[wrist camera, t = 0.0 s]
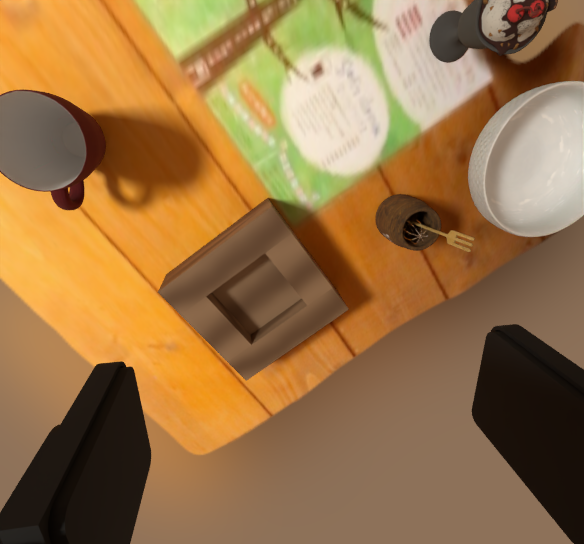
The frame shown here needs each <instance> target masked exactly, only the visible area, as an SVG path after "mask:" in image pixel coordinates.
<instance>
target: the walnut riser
mask: <svg viewBox="0 0 584 544" xmlns="http://www.w3.org/2000/svg"><path fill="white" fill-rule="evenodd" d="M158 293H159V294H160V295H161V296H162V297H163V298H164V299H165V300H166V301H167V302H168V303H169V304H170V305H171V306H172V307H173V308H174V309H175V310H176V311H177V312H178V313H179V314H180V315H181V316H182V317H183V318H184V319H185V320H186V321H187V322H188V323H189V324H190V325H191V326H192V327H193V328H194V329H195V330H196V331H197V332H198V333H199V334H200V335H201V336H202V337H203V338H204V339H205V340H206V341H207V342H208V343H209V344H210V345H211V346H212V347H213V348H214V349H215V350H216V351H217V352H218V353H219V354H220V355H221V356H222V357H223V358H224V359H225V360H226V361H227V362H228V363H229V364H230V365H231V366H232V367H233V368H234V369H235V370H236V371H237V372H238V373H239V374H240V375H241V376H242V377H243V378H244V379H245V380H246V381H247V380H248V379H249V378H251V377H252V376H254V375H255V374H257V373H258V372H260V371H261V370H262V369H264V368H265V367H267V366H268V365H270V364H271V363H272V362H274V361H275V360H277V359H278V358H280V357H281V356H283V355H284V354H285V353H287V352H288V351H290V350H291V349H293V348H294V347H295V346H297V345H298V344H300V343H301V342H303V341H304V340H306V339H307V338H308V337H310V336H311V335H313V334H314V333H316V332H317V331H318V330H320V329H321V328H323V327H324V326H326V325H327V324H329V323H330V322H331V321H333V320H334V319H336V318H337V317H339V316H340V315H341V314H343V313H344V312H346V311H347V310H349V309H348V307H347V306H346V304H345V302H344V301H343V299H342V298H341V296H340V294H339V293H338V291H337V290H336V288H335V287H334V286H333V284H332V283H331V282H330V280H329V279H328V278H327V276H326V275H325V274H324V272H323V271H322V270H321V268H320V267H319V266H318V264H317V263H316V262H315V260H314V259H313V258H312V256H311V255H310V254H309V252H308V251H307V250H306V248H305V247H304V246H303V244H302V243H301V242H300V240H299V239H298V238H297V236H296V235H295V233H294V232H293V231H292V229H291V228H290V227H289V225H288V224H287V223H286V221H285V220H284V219H283V217H282V216H281V215H280V213H279V212H278V211H277V209H276V208H275V207H274V205H273V204H272V203H271V201H270V200H269V199H268V198H267V199H266V200H264V201H263V202H262V203H260V204H259V205H258V206H256V207H255V208H254V209H252V210H251V211H250V212H248V213H247V214H246V215H244V216H243V217H242V218H240V219H239V220H238V221H237V222H235V223H234V224H233V225H231V226H230V227H229V228H227V229H226V230H225V231H223V232H222V233H221V234H219V235H218V236H217V237H215V238H214V239H213V240H211V241H210V242H209V243H207V244H206V245H205V246H203V247H202V248H201V249H199V250H198V251H197V252H195V253H194V254H193V255H192V256H190V257H189V258H188V259H186V260H185V261H184V262H182V263H181V264H180V265H178V266H177V267H176V268H174V269H173V270H172V271H170V272H169V273H168V274H166V276H165V279H164V281H163V283H162V285H161V287H160V289H159V291H158Z"/></svg>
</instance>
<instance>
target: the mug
mask: <svg viewBox="0 0 584 544" xmlns="http://www.w3.org/2000/svg"><path fill="white" fill-rule="evenodd" d="M105 147H106V144H105V138H104V134H103V132H102V130H101V128H100V126H99V125H98V123H97V122H96V121H95V120H94V119H93V118H92V117H91V116H90V115H89V114H88V113H86V112H85V111H83V110H82V109H80V108H79V107H77V106H75V105H74V104H72V103H71V102H69V101H67V100H65V99H63V98H61V97H58V96H56V95H53V94H49V93H45V92H40V91H32V90H14V91H9V92H6V93H4V94H2V95H0V172H1V173H2V174H3V175H4V176H5V177H7V178H8V179H10V180H11V181H13V182H14V183H16V184H18V185H20V186H22V187H25V188H28V189H31V190H35V191H44V192H45V191H51V195H52V198H53V200H54V202H55V203H56V204H57V206H58V207H60V208H62V209H64V210H75V209H77V208H79V207H80V206H81V204H82V202H83V199H84V182H83V180H84V179H85V178H87V177H88V176H89V175H90V174H91V173H92V172H93V171H94V170H95V168H96V167H97V166H98V165H99V164H100V162H101V161H102V159H103V157H104V154H105ZM68 187H70V192H68Z"/></svg>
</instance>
